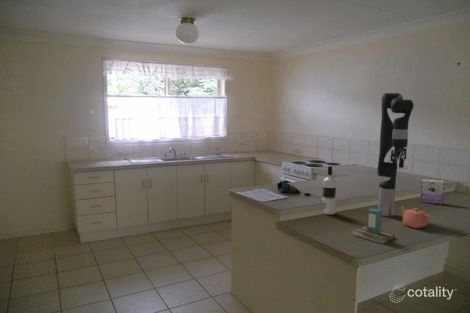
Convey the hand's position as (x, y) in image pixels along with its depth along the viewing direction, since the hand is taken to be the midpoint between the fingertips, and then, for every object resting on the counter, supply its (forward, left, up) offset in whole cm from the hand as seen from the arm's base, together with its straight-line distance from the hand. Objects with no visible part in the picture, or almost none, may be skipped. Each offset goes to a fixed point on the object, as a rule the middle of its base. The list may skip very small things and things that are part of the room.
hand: (397, 168), depth 183 cm
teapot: (-17, +4, -34) cm, 39 cm away
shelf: (+17, -3, -34) cm, 38 cm away
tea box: (+18, -3, -32) cm, 37 cm away
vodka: (-2, -42, -34) cm, 54 cm away
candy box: (-80, -7, -34) cm, 87 cm away
